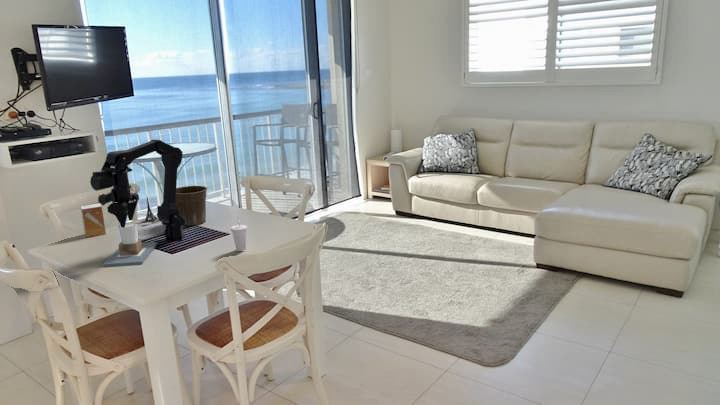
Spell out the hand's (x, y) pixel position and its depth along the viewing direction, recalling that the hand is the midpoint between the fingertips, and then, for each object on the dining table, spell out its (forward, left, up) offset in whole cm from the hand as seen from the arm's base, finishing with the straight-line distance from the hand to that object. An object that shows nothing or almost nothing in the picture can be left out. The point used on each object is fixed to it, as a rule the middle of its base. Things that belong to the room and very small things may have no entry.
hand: (127, 223), depth 202 cm
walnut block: (0, 0, -12) cm, 12 cm away
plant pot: (-16, -40, -13) cm, 45 cm away
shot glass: (0, 0, -8) cm, 8 cm away
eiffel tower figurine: (+5, -47, -14) cm, 49 cm away
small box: (+25, -31, -13) cm, 42 cm away
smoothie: (-43, +3, -13) cm, 45 cm away
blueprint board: (0, 0, -13) cm, 13 cm away
